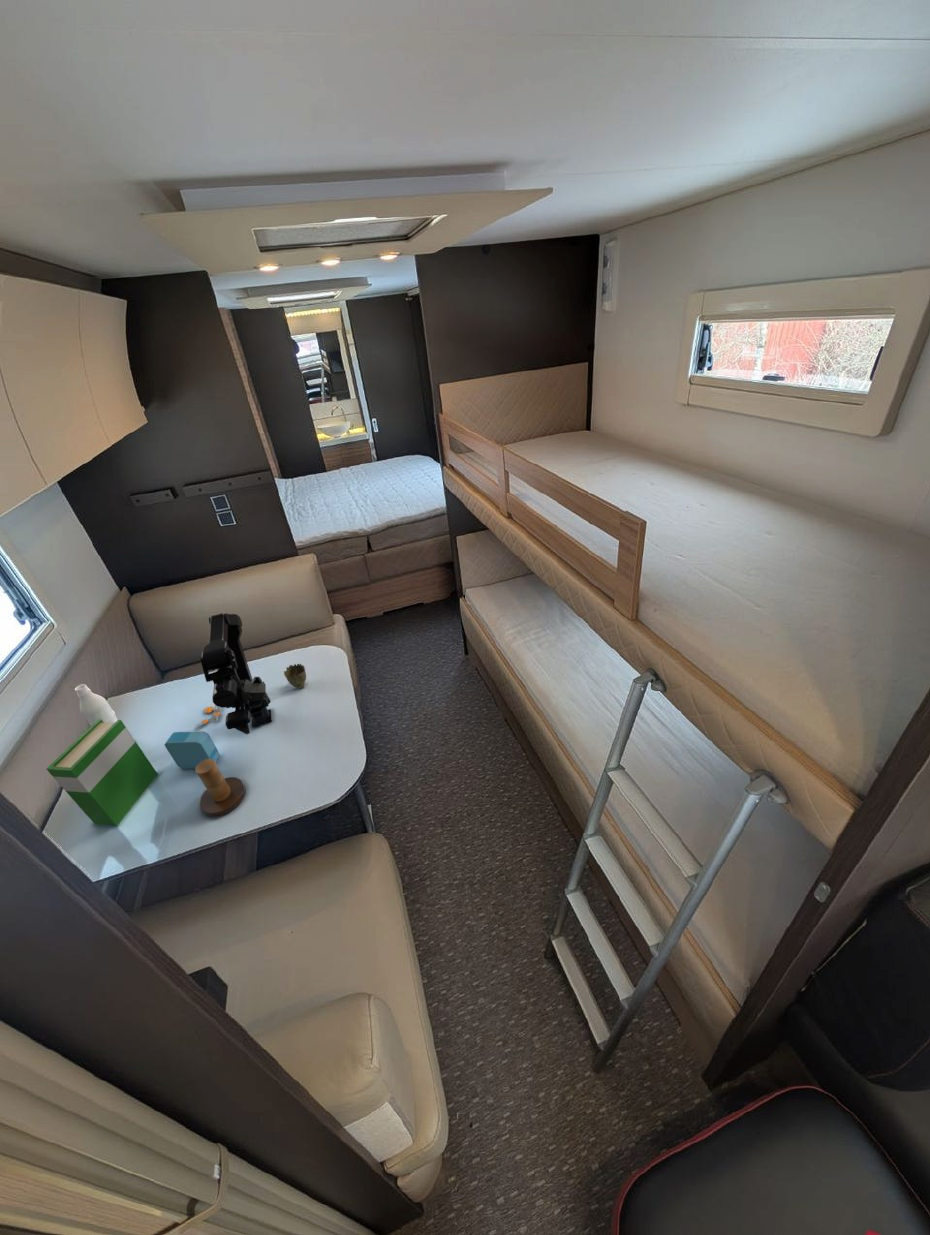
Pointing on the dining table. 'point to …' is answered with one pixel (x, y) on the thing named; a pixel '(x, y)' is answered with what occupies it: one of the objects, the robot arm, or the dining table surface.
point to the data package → (191, 748)
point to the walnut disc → (226, 805)
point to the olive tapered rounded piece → (296, 675)
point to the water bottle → (94, 706)
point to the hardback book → (104, 772)
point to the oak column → (213, 780)
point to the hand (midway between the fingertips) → (248, 723)
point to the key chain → (213, 714)
